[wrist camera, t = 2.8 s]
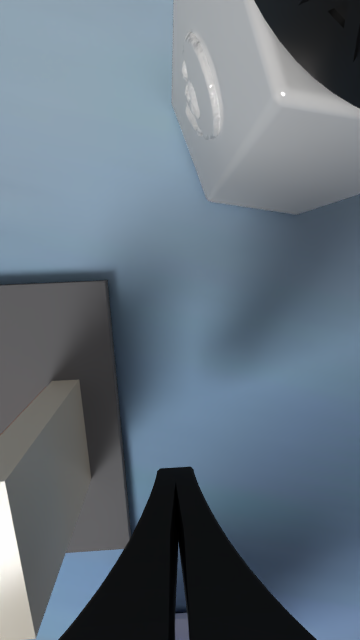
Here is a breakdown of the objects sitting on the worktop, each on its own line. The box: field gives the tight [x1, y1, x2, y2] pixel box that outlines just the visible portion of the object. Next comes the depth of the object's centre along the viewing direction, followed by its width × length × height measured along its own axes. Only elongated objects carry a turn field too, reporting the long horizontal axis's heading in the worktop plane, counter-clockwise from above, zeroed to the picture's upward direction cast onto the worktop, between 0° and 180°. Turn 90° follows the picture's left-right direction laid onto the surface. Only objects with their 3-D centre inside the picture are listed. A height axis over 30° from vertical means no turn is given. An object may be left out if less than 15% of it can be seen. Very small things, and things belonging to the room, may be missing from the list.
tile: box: [0, 380, 91, 640], centre depth 12 cm, size 6×2×7 cm, turn 2°
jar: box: [172, 0, 360, 215], centre depth 8 cm, size 9×8×12 cm
